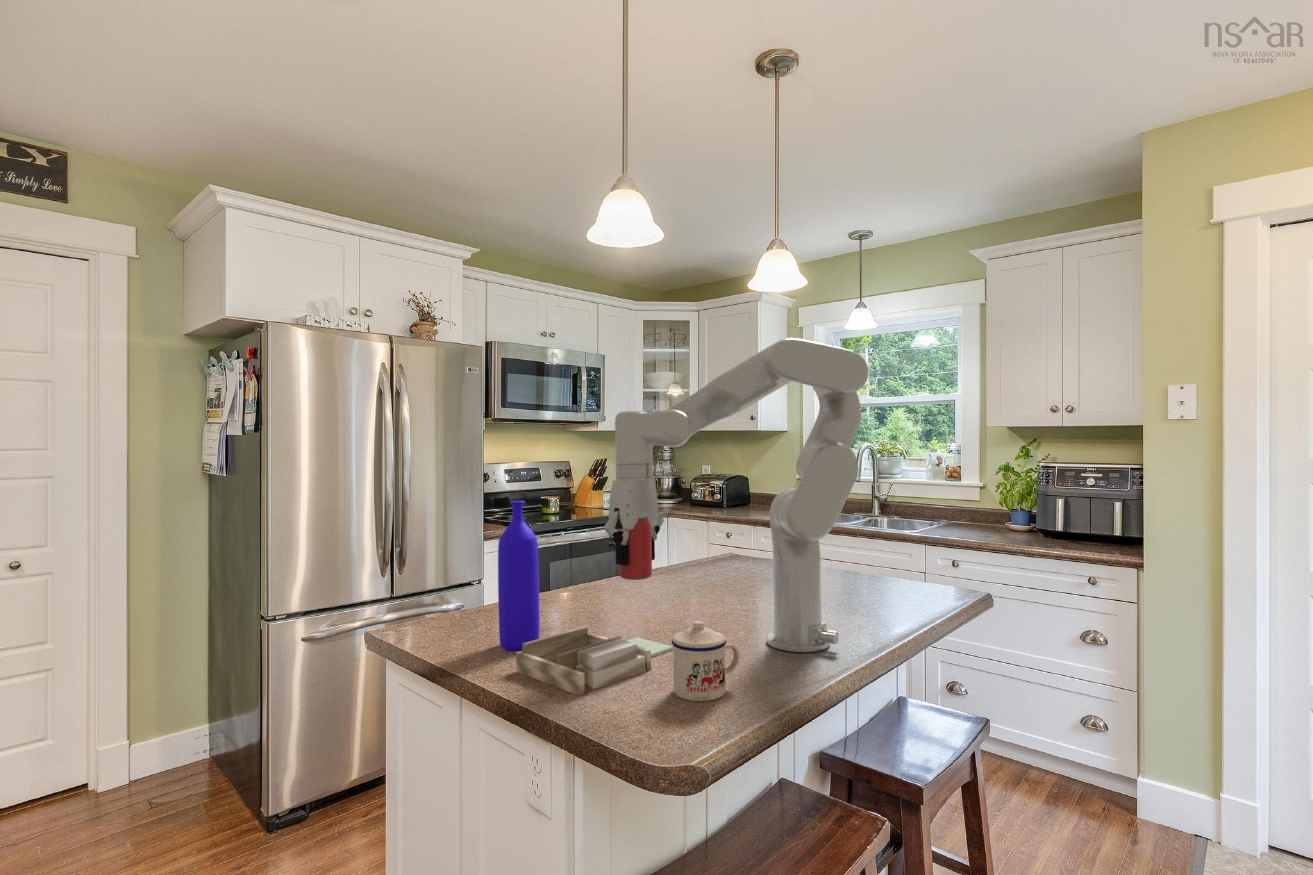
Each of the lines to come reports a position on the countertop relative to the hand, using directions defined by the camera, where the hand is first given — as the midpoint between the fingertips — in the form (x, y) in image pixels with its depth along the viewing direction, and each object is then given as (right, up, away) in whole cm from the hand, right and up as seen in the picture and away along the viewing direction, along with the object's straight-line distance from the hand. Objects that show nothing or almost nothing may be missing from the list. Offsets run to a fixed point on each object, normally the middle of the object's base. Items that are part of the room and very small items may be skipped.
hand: (635, 561), depth 133 cm
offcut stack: (-4, -18, -14) cm, 24 cm away
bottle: (-24, -19, +4) cm, 31 cm away
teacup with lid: (+13, -18, -22) cm, 31 cm away
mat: (0, -18, 0) cm, 18 cm away
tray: (-9, -18, -11) cm, 23 cm away
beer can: (0, -3, 0) cm, 3 cm away
